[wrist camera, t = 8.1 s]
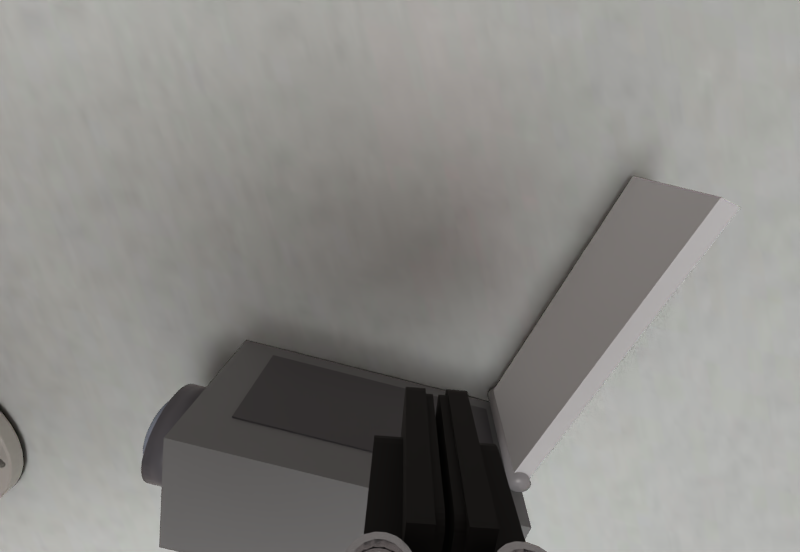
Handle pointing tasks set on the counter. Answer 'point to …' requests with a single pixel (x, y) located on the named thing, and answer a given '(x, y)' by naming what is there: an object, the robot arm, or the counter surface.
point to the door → (600, 315)
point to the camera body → (278, 453)
